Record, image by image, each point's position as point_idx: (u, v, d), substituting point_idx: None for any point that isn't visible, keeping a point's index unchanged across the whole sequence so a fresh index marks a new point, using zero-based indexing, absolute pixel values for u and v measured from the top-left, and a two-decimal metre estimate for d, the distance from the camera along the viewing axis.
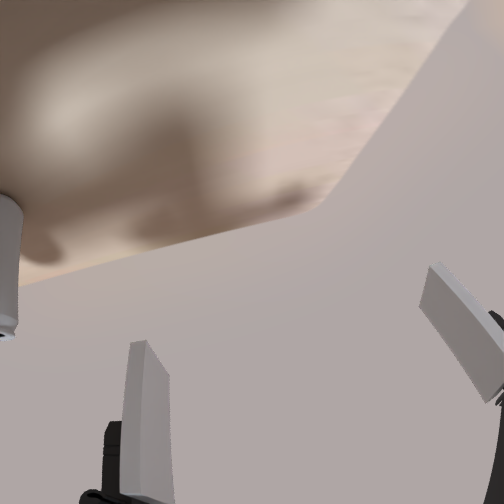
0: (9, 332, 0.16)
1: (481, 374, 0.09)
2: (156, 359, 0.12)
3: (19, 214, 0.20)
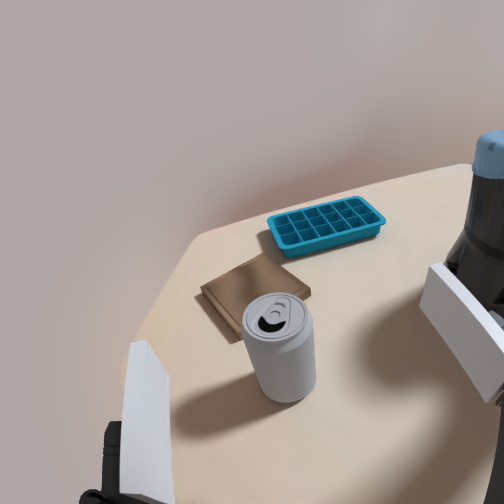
0: (288, 338, 0.23)
1: (481, 374, 0.09)
2: (156, 359, 0.12)
3: (298, 397, 0.29)
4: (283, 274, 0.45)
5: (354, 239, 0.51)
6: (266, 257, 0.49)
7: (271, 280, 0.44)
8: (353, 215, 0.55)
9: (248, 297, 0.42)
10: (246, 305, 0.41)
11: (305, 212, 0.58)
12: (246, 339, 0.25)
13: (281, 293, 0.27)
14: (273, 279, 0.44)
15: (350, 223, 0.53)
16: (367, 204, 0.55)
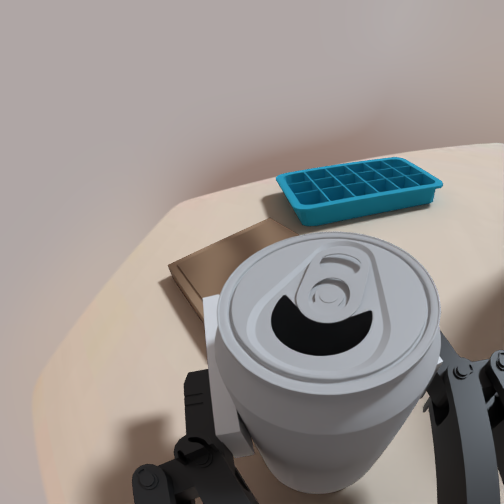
0: (396, 377, 0.05)
1: None
2: None
3: (348, 485, 0.10)
4: None
5: (401, 206, 0.33)
6: (275, 223, 0.31)
7: None
8: None
9: None
10: None
11: (330, 171, 0.40)
12: (227, 376, 0.07)
13: (338, 234, 0.09)
14: None
15: None
16: (413, 165, 0.37)
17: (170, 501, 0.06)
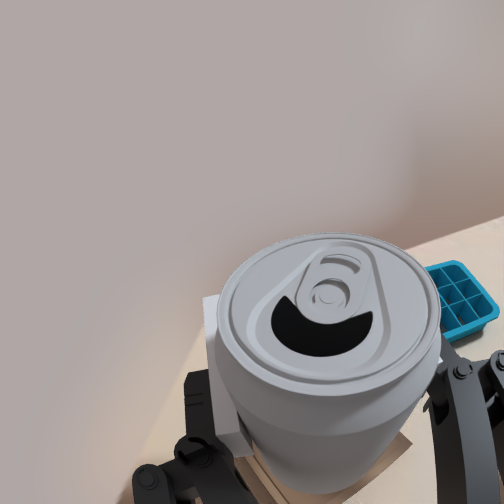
0: (396, 378, 0.05)
1: None
2: None
3: (348, 485, 0.10)
4: None
5: (457, 338, 0.28)
6: None
7: None
8: (454, 295, 0.31)
9: None
10: None
11: None
12: (226, 377, 0.07)
13: (338, 234, 0.09)
14: None
15: (452, 310, 0.30)
16: (471, 277, 0.32)
17: (170, 501, 0.06)
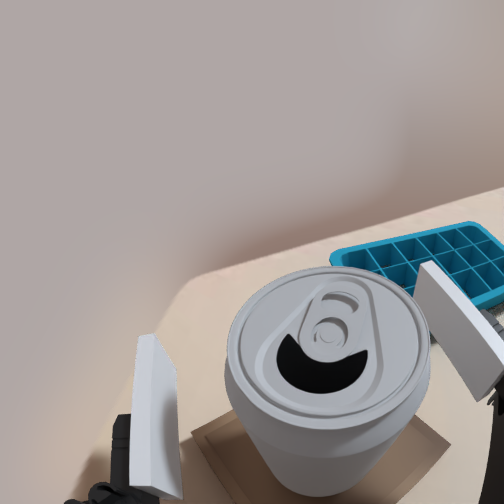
0: (385, 413, 0.05)
1: (472, 373, 0.09)
2: (164, 353, 0.12)
3: (346, 489, 0.11)
4: None
5: (486, 308, 0.21)
6: None
7: None
8: (476, 258, 0.25)
9: None
10: None
11: (397, 246, 0.28)
12: (237, 407, 0.07)
13: (338, 269, 0.10)
14: None
15: None
16: (493, 239, 0.25)
17: None
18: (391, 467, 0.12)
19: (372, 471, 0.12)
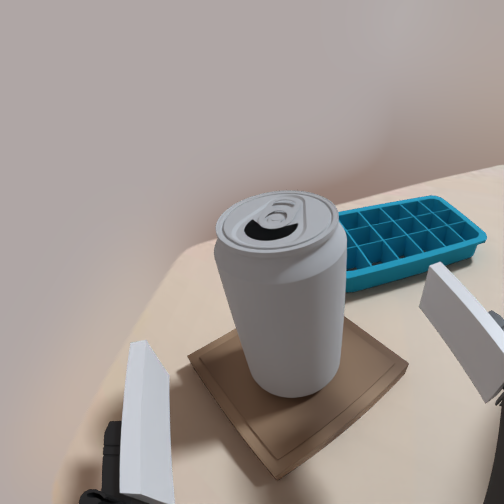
0: (306, 247, 0.11)
1: (481, 374, 0.09)
2: (156, 359, 0.12)
3: (314, 388, 0.17)
4: (352, 334, 0.21)
5: (443, 263, 0.27)
6: None
7: None
8: (435, 224, 0.31)
9: None
10: (286, 409, 0.17)
11: (363, 214, 0.35)
12: (221, 262, 0.13)
13: (286, 191, 0.16)
14: None
15: None
16: (452, 209, 0.31)
17: None
18: (355, 378, 0.18)
19: (338, 381, 0.18)
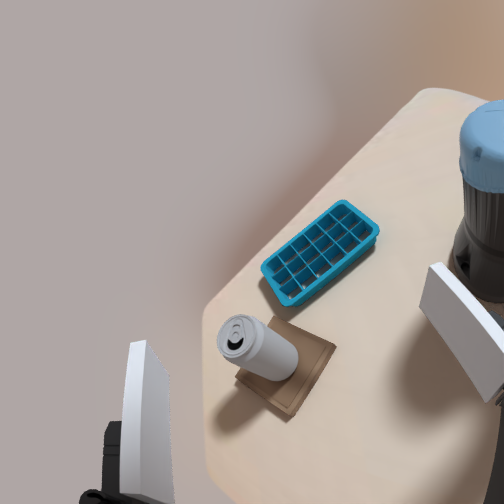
0: (248, 349, 0.33)
1: (481, 374, 0.09)
2: (156, 359, 0.12)
3: (289, 373, 0.39)
4: (303, 336, 0.43)
5: (353, 260, 0.47)
6: (279, 320, 0.47)
7: None
8: (343, 228, 0.50)
9: None
10: (284, 384, 0.40)
11: (294, 243, 0.54)
12: (226, 358, 0.35)
13: (235, 316, 0.37)
14: (296, 346, 0.43)
15: (343, 242, 0.49)
16: (354, 209, 0.50)
17: None
18: (308, 360, 0.40)
19: (301, 364, 0.41)
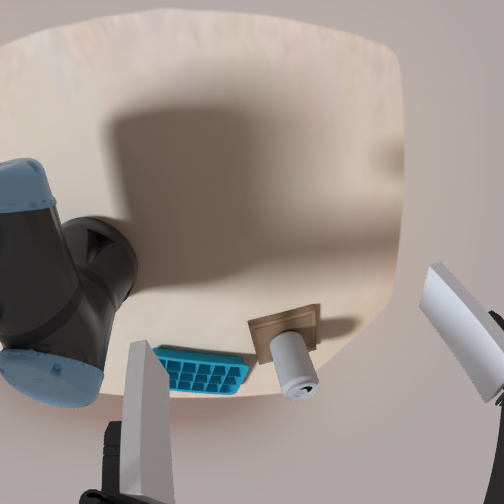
0: (305, 383, 0.43)
1: (481, 374, 0.09)
2: (156, 359, 0.12)
3: (289, 334, 0.52)
4: (259, 343, 0.54)
5: (181, 352, 0.54)
6: (259, 360, 0.57)
7: (270, 341, 0.54)
8: None
9: None
10: (298, 327, 0.53)
11: (201, 389, 0.59)
12: None
13: (291, 400, 0.46)
14: (268, 341, 0.54)
15: (174, 366, 0.54)
16: None
17: None
18: (271, 330, 0.52)
19: (277, 331, 0.53)
